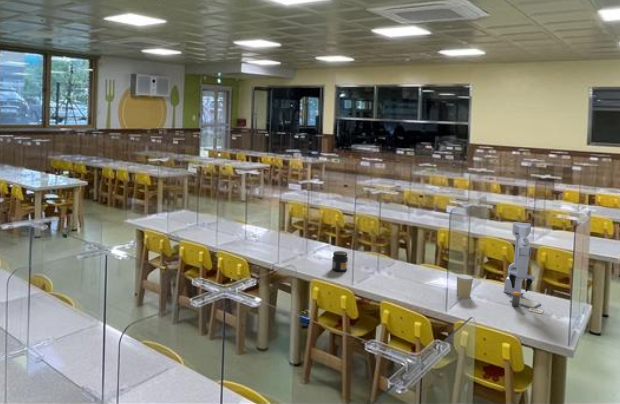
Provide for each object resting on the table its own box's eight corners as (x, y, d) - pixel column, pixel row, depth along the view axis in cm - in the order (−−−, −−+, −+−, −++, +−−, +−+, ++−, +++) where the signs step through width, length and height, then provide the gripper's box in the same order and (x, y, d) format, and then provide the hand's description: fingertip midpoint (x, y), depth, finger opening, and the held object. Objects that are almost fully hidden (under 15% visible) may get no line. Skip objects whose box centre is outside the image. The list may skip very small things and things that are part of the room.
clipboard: (509, 301, 308) (510, 299, 307) (517, 297, 315) (517, 295, 314) (533, 308, 298) (533, 306, 298) (540, 304, 305) (541, 302, 305)
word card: (528, 310, 295) (528, 309, 295) (530, 307, 299) (530, 307, 299) (541, 313, 291) (541, 313, 291) (543, 311, 295) (543, 310, 295)
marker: (510, 305, 301) (511, 292, 300) (513, 304, 304) (514, 290, 303) (517, 307, 299) (518, 294, 297) (520, 306, 301) (521, 292, 300)
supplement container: (350, 271, 353) (351, 254, 351) (337, 273, 348) (338, 255, 346) (341, 266, 362) (342, 250, 360) (328, 268, 357) (329, 251, 355)
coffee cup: (468, 293, 319) (470, 274, 317) (473, 298, 310) (475, 279, 308) (453, 292, 319) (454, 274, 317) (457, 298, 310) (459, 279, 308)
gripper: (507, 265, 299) (504, 287, 301) (533, 271, 289) (530, 294, 292) (511, 262, 304) (509, 285, 307) (537, 268, 295) (534, 291, 297)
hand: (519, 289), depth 300 cm, fingers open, 7 cm apart
